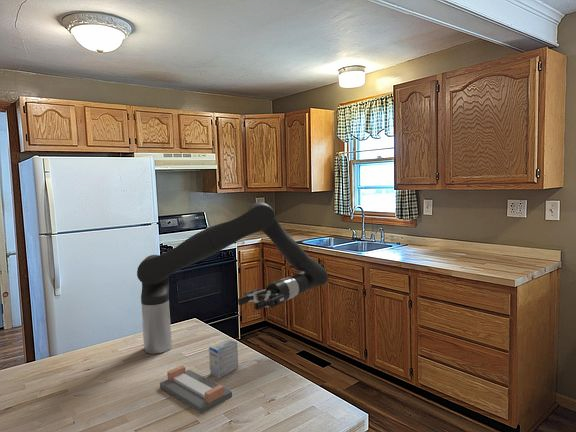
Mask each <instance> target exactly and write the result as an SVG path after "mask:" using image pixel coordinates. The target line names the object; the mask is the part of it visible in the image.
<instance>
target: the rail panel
mask: <svg viewBox="0 0 576 432" xmlns="http://www.w3.org/2000/svg"><path fill="white" fill-rule="evenodd" d="M166 373H167V379H165V380H162V381H161V382H159V388H160V389H161V390H163V391H164V392H166V393H167V394H170V395H171V396H172V397H174V398H175V399H178V400H179V401H180V402H182V403H183V404H186V405H187V406H189V407H190V408H192V409H193V410H195V411H197V412H199V414H203V413H205V412H207V411H209V410H211V409H212V408H215V407H216V406H218V405H219V404H221V403H223V402H225V401H227V400H229V399H230V398H232V396H233V393H232V392H233V391H231V390H230V389H228V388H226V387H224V386H223V385H222V384H218V383H216V382H215V381H212V380H210V379H209V378H206V377H205V376H203V375H201V374H198V373H197V372H195V371H193V370H191V369H187V370H186V366H184V365H179V366H178V367H175V368H173V369H171V370H168V371H167V372H166Z"/></svg>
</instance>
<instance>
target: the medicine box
mask: <svg viewBox="0 0 576 432" xmlns="http://www.w3.org/2000/svg"><path fill="white" fill-rule="evenodd" d="M238 349H239V348H238V342H237V341H235V340H233V339H230V338H227V339H225V340H223V341H220V342H218V343H216V344H214V345H212V346H209V347H208V352H209V353H208V355H209V372H210V374H211V375H212V376H213V377H216V378H219V379H221V378H222V377H224V376H225V375H227V374H230V373H231V372H233V371H235V370H236V369H238V368H239V354H238V353H239V351H238Z"/></svg>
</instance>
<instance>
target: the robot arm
mask: <svg viewBox="0 0 576 432" xmlns="http://www.w3.org/2000/svg"><path fill="white" fill-rule="evenodd" d="M247 210H248V211H245V212H244V213H243V214H241V215H240V216H237V217H236V218H233V219H231V220H228V221H225V222H221V223H217V224H215V225H212V226H209V227H207V228H205V229H203V230H201V231H199V232H196V233H195V234H193V235H191V236H190V237H188V238H187V239H185V240H184V241H182V242H181V243H180V244H178V245H177V246H175V247H173V248H172V249H171V250H169V251H166V252H164V253H161V254H151V255H148V256H146V257H145V258H144V259H143V260H142V261H141V262H140V263H139V265H138V266H137V271H136V276H137V279H138V280H139V281H140V282H141V293H140V303H141V314H142V316H141V317H142V336H143V348H144V352H145V353H147V354H151V355H153V354H154V355H155V354H161V353H165V352H167V351H169V350H171V349H172V347H173V342H172V328H171V324H172V323H171V315H170V314H171V313H170V298H169V297H170V295H169V294H170V280H169V279H170V278H169V277H170V276H172V275H173V274H175V273H177V272H178V271H180V270H181V269H184V268H187V267H188V266H191V265H194V264H196V263H197V262H200V261H203V260H204V259H207V258H209V257H210V256H213V255H215V254H216V253H219V252H221V251H222V250H224V249H226V248H228V247H230V246H232V245H233V244H235V243H237V242H238V241H241V239H243V238H246V237H248V236H251V235H253V234H255V233H259V232H262V233H264V234H265V235H266V236H267V237H268V238H269V240H270V241H271V242H272V243H273V244H274V245H275V247H276V248H277V250H278V251H279V252H280V253H281V254H282V256H283V257H284V259H286V261H287V263H289V264H290V266H292V268H294V269H295V271H301V272H299V273H297V274H293V275H291V276H287V277H284V278H281V279H280V278H279V279H278V280H274V281H273V282H271V283H269V284H268V285H267V286H266V289H261V290H260V288H255V289H253V290H250V291H247V292H244V296H242V297H240V298H238V299H237V303H238V304H237V305H239V306H242V305H245V304H247V303H251V302H253V306H254V310H256V311H260V310H261V309H263V308H268V307H270V308H275V307H277V306H279V305H281V304H283V303H285V302H286V301H288V300H291V299H293V298H295V297H297V296H299V295H300V294H304V293H305V292H306V291H307V290H311V289H313V288H317V287H320V286H323V285H326V283H327V282H328V279H329V275H328V273H327V270H326V268H325V267H323V265H321V264H320V263H319V262H317V261H316V260H315V259H313V258H312V257H310V256H309V255H308V254H307V253H306V252H305V249H303V248H302V247H301V246H300V244H299V243H297V241H296V240H295V239H294V238H293V237H292V236H291V235H290V234H289V233H288V232H287V231H286V230H285V229H284V228H283V227H282V225H281V224H280V223H279V221H278V220H277V218H276V214H275V211H274V208H272V206H270V204H268V203H265V202H262V201H258V202H254V203H252V204H251V205H250V206H249V208H248V209H247Z"/></svg>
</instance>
